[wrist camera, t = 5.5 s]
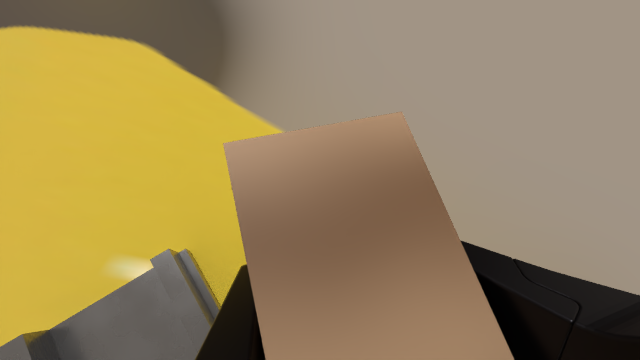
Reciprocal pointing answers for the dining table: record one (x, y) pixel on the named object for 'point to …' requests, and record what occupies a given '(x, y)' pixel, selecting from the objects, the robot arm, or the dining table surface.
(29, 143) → the dining table surface
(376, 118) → the brown wooden block
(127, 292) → the door track
